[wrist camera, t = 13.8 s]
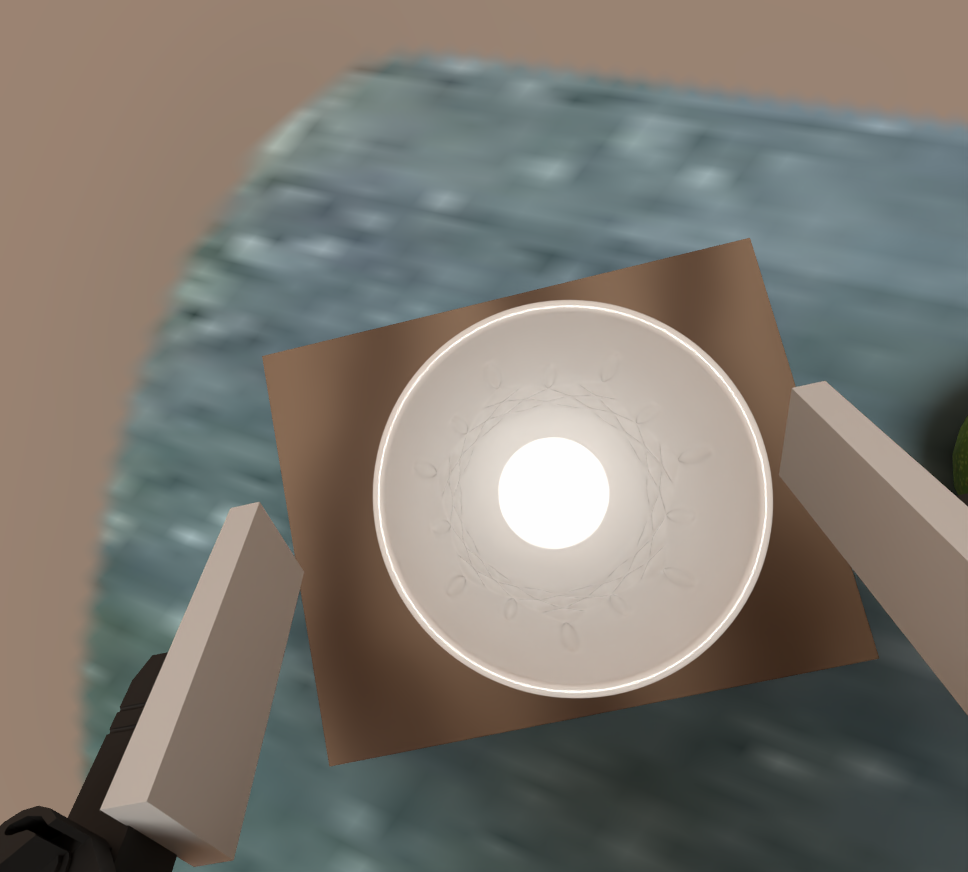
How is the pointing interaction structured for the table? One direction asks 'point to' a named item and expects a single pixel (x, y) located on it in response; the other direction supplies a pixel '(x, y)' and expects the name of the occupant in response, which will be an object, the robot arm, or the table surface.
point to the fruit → (961, 460)
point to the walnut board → (382, 613)
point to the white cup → (572, 499)
